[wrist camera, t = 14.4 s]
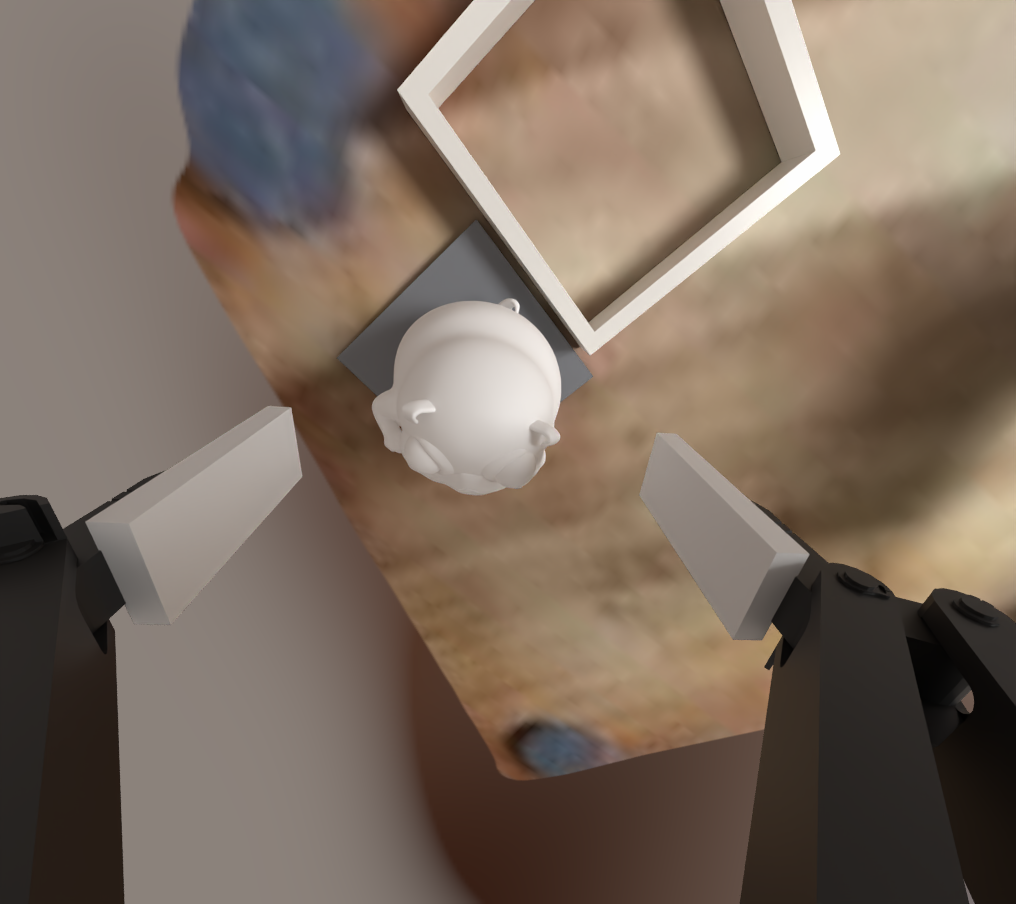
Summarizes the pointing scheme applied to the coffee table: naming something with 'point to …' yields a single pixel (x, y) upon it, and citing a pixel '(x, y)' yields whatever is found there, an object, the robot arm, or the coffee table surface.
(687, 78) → the coffee table surface
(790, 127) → the bin frame
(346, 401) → the coffee table surface
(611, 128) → the coffee table surface
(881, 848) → the robot arm
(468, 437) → the figurine
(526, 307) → the coaster pad
